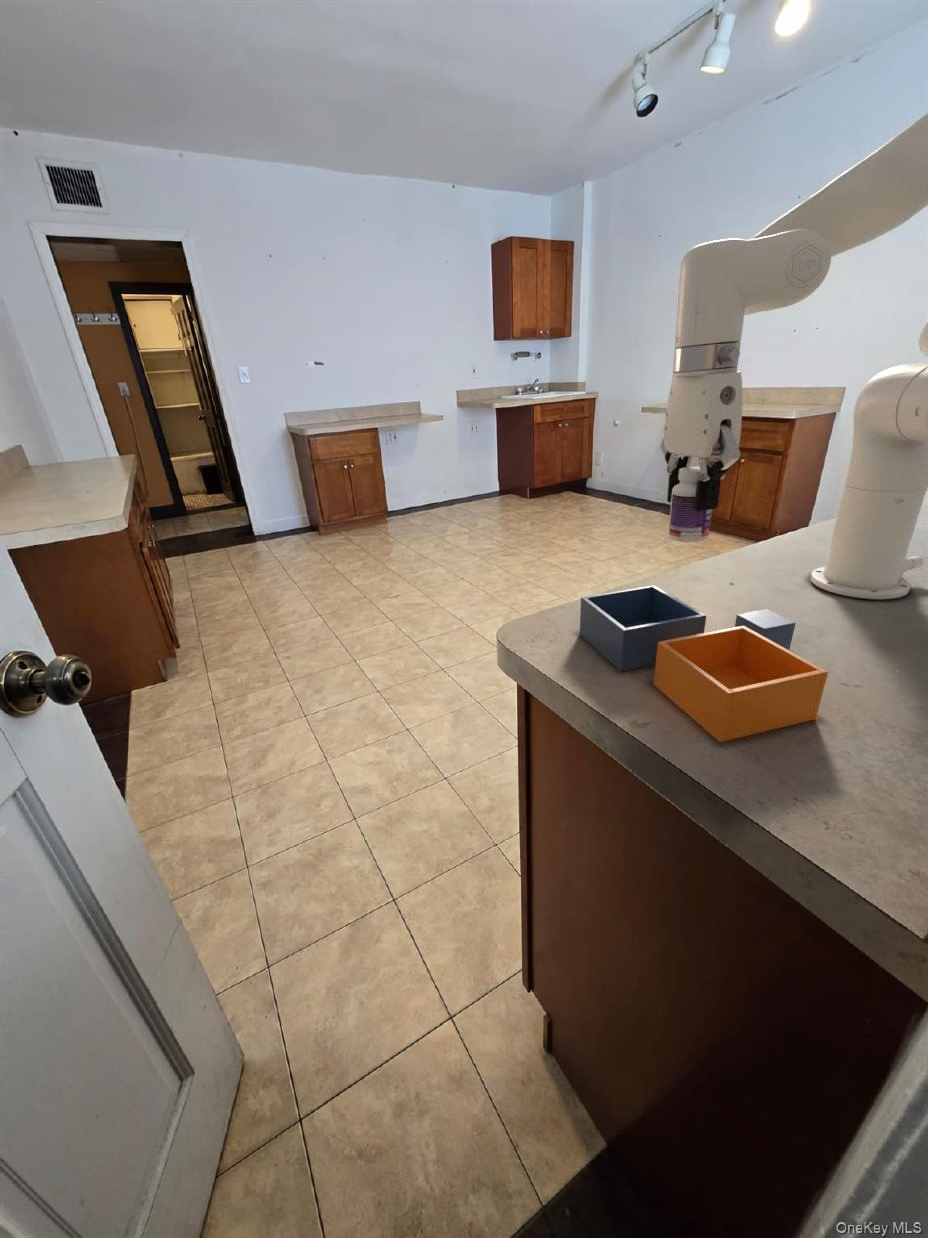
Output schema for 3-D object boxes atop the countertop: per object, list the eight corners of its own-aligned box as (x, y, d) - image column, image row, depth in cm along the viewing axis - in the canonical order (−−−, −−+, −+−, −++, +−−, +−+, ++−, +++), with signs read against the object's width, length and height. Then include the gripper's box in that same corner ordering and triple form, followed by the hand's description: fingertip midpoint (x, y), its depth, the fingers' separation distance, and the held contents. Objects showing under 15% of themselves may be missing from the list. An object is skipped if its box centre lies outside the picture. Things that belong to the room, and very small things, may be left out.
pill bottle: (712, 542, 71) (721, 471, 67) (671, 543, 72) (677, 473, 68) (704, 531, 76) (711, 464, 72) (665, 532, 77) (670, 466, 73)
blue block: (760, 640, 67) (766, 608, 65) (788, 655, 63) (795, 622, 61) (731, 645, 66) (736, 614, 65) (757, 662, 62) (764, 628, 61)
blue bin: (650, 620, 75) (653, 585, 72) (700, 655, 65) (706, 615, 62) (579, 633, 72) (580, 597, 70) (620, 671, 62) (623, 630, 60)
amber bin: (736, 667, 62) (743, 625, 59) (815, 719, 52) (828, 671, 49) (653, 684, 59) (657, 641, 57) (719, 742, 49) (728, 693, 47)
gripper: (784, 354, 58) (760, 513, 65) (688, 363, 73) (677, 491, 80) (726, 360, 56) (708, 522, 64) (641, 367, 71) (634, 498, 79)
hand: (691, 503), depth 72 cm, fingers closed on pill bottle, 5 cm apart
